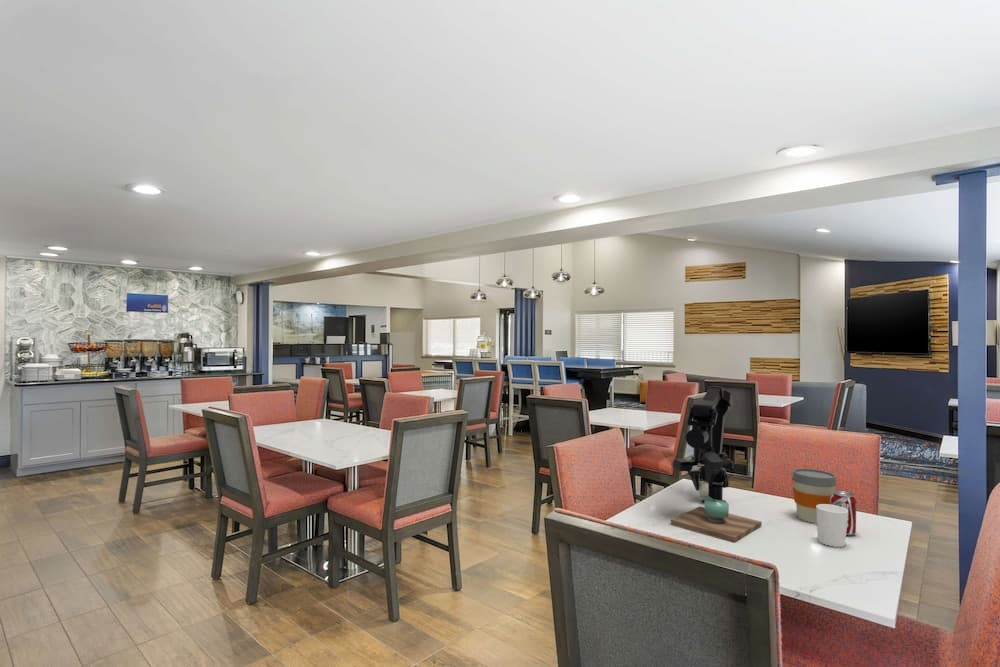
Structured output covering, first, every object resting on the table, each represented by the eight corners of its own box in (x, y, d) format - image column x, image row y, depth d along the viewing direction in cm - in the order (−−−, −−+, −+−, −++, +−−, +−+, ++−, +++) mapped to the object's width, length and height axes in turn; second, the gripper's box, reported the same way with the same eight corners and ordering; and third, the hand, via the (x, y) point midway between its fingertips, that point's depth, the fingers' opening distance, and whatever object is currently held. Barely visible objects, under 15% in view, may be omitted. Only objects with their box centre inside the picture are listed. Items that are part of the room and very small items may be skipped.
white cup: (845, 550, 154) (846, 514, 154) (813, 543, 159) (814, 508, 159) (848, 542, 160) (849, 507, 160) (817, 535, 165) (818, 502, 165)
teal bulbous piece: (691, 503, 182) (691, 481, 182) (711, 503, 183) (712, 481, 183) (710, 518, 168) (711, 493, 168) (732, 517, 169) (733, 493, 169)
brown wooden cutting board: (699, 510, 186) (700, 501, 186) (761, 526, 172) (761, 516, 172) (670, 524, 172) (670, 514, 172) (735, 542, 158) (735, 531, 158)
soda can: (848, 529, 171) (849, 490, 171) (860, 537, 164) (861, 497, 164) (825, 528, 172) (826, 489, 172) (836, 536, 165) (837, 496, 165)
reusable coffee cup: (824, 514, 186) (825, 469, 185) (843, 527, 173) (844, 479, 173) (785, 512, 187) (785, 467, 187) (801, 524, 174) (802, 477, 174)
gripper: (689, 448, 171) (689, 499, 171) (743, 446, 175) (743, 495, 175) (671, 441, 182) (671, 489, 182) (723, 439, 186) (723, 486, 186)
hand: (702, 490), depth 181 cm, fingers open, 4 cm apart
